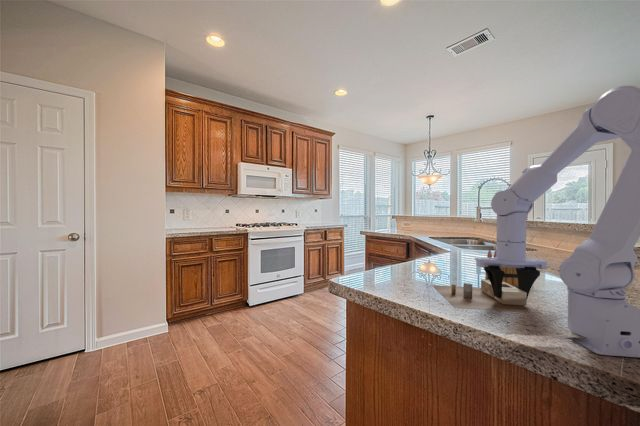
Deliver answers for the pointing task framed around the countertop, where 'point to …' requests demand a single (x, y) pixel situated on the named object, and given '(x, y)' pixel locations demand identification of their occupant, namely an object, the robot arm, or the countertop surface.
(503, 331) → the countertop surface
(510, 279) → the ammunition clip
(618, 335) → the robot arm
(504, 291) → the beige rectangular block
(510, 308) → the post board
